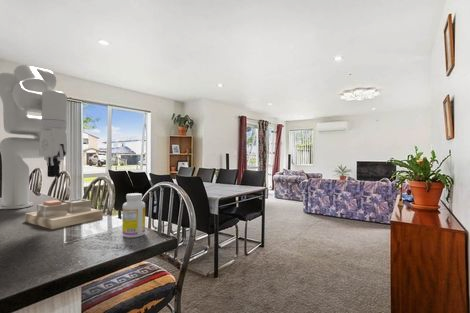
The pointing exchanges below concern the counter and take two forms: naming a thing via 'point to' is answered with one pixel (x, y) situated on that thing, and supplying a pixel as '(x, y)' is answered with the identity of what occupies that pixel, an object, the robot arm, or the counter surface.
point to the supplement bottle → (133, 216)
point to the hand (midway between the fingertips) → (53, 176)
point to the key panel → (63, 214)
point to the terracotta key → (52, 203)
